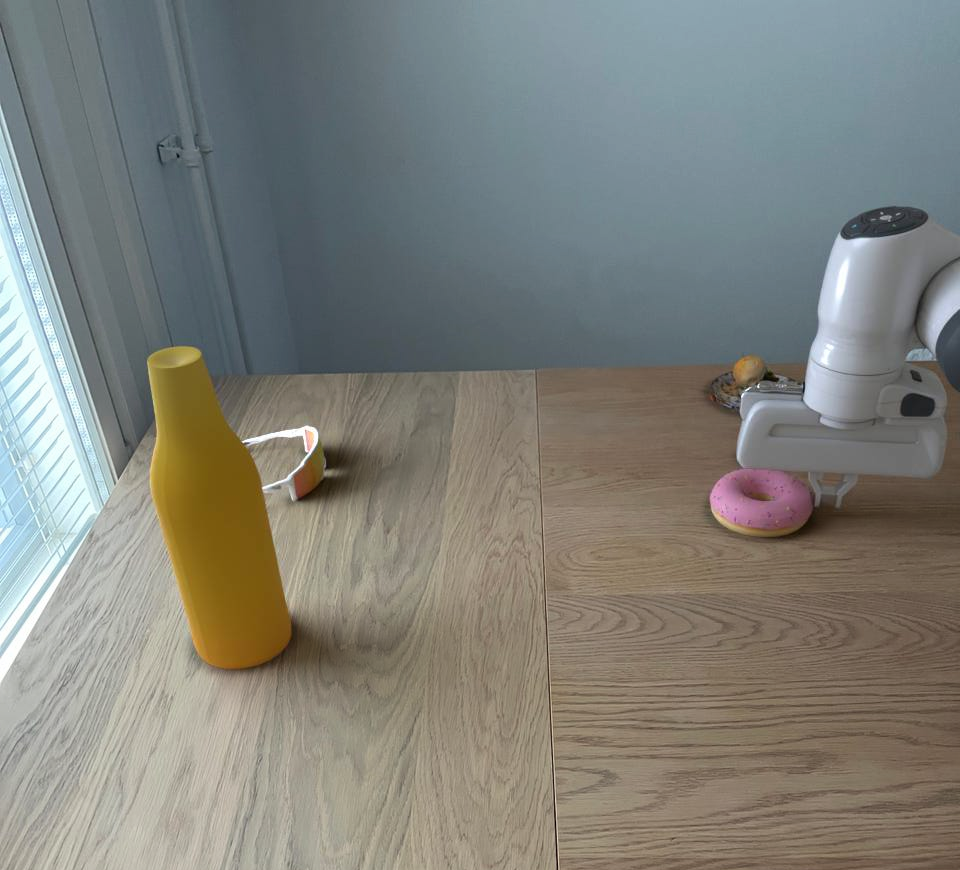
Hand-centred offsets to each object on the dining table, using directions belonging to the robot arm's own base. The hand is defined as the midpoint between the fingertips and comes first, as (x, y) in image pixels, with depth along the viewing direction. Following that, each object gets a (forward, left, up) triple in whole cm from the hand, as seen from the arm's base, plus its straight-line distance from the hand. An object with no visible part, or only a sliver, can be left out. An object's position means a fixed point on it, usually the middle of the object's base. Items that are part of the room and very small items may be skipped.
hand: (825, 504), depth 106 cm
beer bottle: (+56, +29, -2) cm, 63 cm away
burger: (+7, -29, -2) cm, 30 cm away
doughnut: (+7, 0, -2) cm, 7 cm away
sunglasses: (+65, -1, -2) cm, 65 cm away
